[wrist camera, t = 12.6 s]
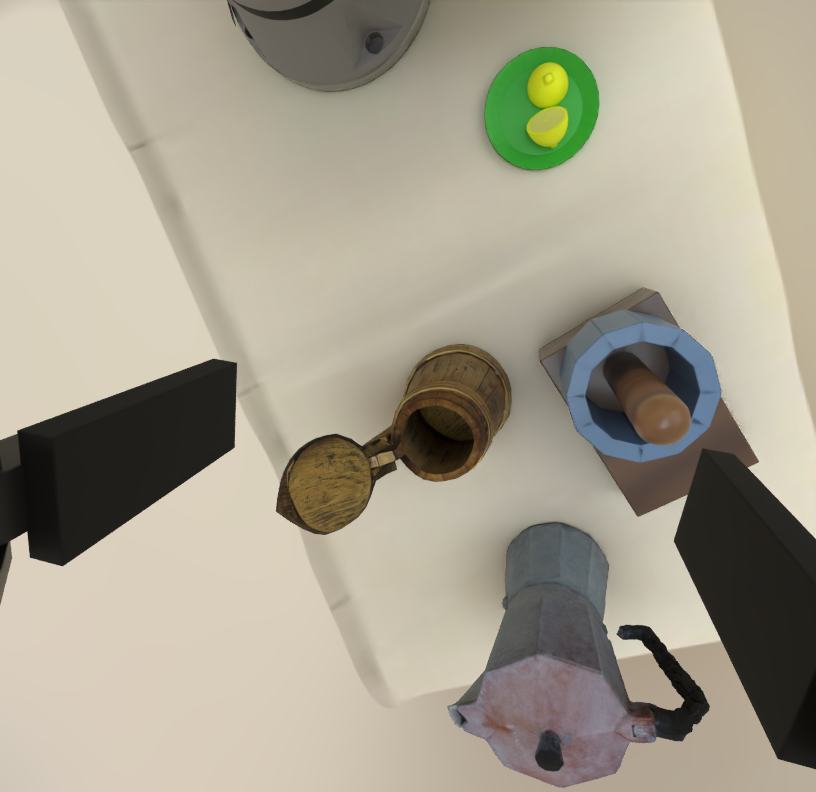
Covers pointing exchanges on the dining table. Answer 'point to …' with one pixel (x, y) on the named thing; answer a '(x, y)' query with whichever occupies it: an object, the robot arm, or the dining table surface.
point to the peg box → (649, 411)
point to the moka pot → (565, 669)
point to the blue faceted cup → (686, 379)
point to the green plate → (541, 108)
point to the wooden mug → (402, 440)
